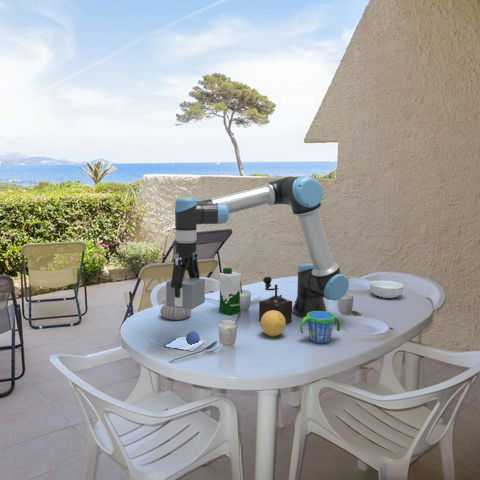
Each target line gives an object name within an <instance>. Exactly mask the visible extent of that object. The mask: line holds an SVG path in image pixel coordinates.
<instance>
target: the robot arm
mask: <svg viewBox="0 0 480 480" xmlns="http://www.w3.org/2000/svg"><path fill="white" fill-rule="evenodd" d="M323 196H324V190H323V187H322V185H321V183H320V182H319V181H318V180H317V179H315V178H314V177H310V176H306V175H304V176H303V175H302V176H285V177H282V178H279V179H276V180H273V181H269V182H265V183H264V184H263V185H262V186H258V187H255V188H250V189H247V190H242V191H238V192H233V193H230V194H224V195H220V196H217V197H216V196H215V197H213V198H209V199H205V200H200V201H199V200H197V199H196V198H195V197H179V198H176V200H175V205H174V223H175V228H174V229H175V230H174V235H175V237H174V239H175V241H176V242H175V246H174V247H175V248H174V249H175V250H174V251H175V253H177V254H178V256H177V258H173V266H172V267H173V269H172V276H171V280H172V281H171V287H172V288H175V306H180V307H182V306H183V288H181V286H182V282H183V278H184V277H185V274H186V271H187V274H188V277H190V278H200V277H201V276H200V271H199V270H200V269H199V262H198V254H197V253H196V252H197V242H196V241H197V235H198V233H197V227H198V225H222V224H226V223H227V222H228V221H229V217H230V214H233V213H238V212H240V211H241V212H242V211H245V210H249V209H252V208H257V207H261V206H265V205H268V206H271V207H272V206H274V205H288V206H290V207H291V210H292V213H293V215H295V216H297V217H298V220H299V223H300V227H301V230H302V233H303V236H304V240H305V244H306V246H307V251H308V253H309V256H310V260H311V263H302V264H300V265H299V266H298V267H297V269H298V270H297V294H296V295H297V297H296V299H295V302H294V304H293V306H292V314H294V315H295V316H297V317H300V318H304V317H306V316H307V313H309V312H312V311H325V312H327V307H326V303H325V299H327V300H330V301H334V302H335V301H339V300H341V299H342V298H344V297H345V296H346V294H347V291H348V290H349V287H350V283H349V281H350V280H349V278H348V277H347V276H346V275H345V274H343V273H341V269H340V266H339V264H338V263H337V262H334V261H335V260H334V258H333V255H332V251H331V249H330V244H329V241H328V238H327V235H326V230H325V227H324V223H323V220H322V217H321V214H320V208H321V207H322V203H321V202H322V201H323ZM324 298H325V299H324Z"/></svg>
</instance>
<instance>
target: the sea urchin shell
mask: <svg viewBox="0 0 480 480" xmlns="http://www.w3.org/2000/svg"><path fill="white" fill-rule="evenodd" d="M159 311H160V315H161V316H162V317H163V318H165V319H166V320H172V321H173V320H175V321H183V320H186V319H188V318H189V317H190V316H191V314H192V310H191V309H184V308H176V307H168V306H166V302H164V304H163V305H162V306H161V308H160V310H159Z"/></svg>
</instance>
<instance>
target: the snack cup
mask: <svg viewBox="0 0 480 480" xmlns="http://www.w3.org/2000/svg"><path fill="white" fill-rule="evenodd" d="M335 319H337V321H336V331H337V332H340V331H341V328H342V327H341V326H342V325H341V320H340V318H339V317H338V316H336V315H335V314H334V313H332V312H330V311H326V312H325V311H312V312H309V313H307V316H306V317H302V320H301V321H300V326H299V328H300V333H301V334H304V323H305V322H306V321H307V325H308V333H309V339H310V341H311V342H313V343H314V344H327V343H330V340H331V338H332V333H333V327H334V322H335Z"/></svg>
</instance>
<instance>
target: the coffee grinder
mask: <svg viewBox="0 0 480 480" xmlns="http://www.w3.org/2000/svg"><path fill="white" fill-rule="evenodd" d="M272 279H273V278H272V277H271V276H265V277H263V278H262V281H263V283H264V284H265V285H264V287H265V288H264V289H265V291H274V295H273V296H271V297H269V298H266V299H262V300H260V301H259V302H258V303H259V306H258V307H259V308H258V309H259V312H258V314H259V315H258V317H259V319H258V322H259V323H260V322H261V318H262V316H263V315H264V314H265V313H266V312H268V311H271V310H275V311H279V312H281V314H282V315H283V316H284V317H285V319H286V320H285V321H286V325H289V324H291V323H292V322H293V300H289V299H287V298H284V297H283V296H282V294H280V295H278V289H279V288H278V286H279V285H278V284H274V288H271V287H272V284H271V282H272Z"/></svg>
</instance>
